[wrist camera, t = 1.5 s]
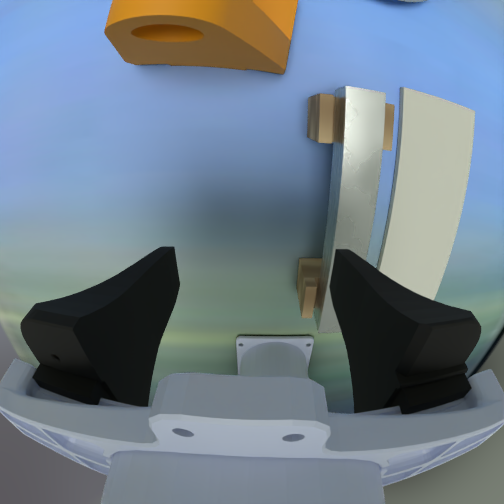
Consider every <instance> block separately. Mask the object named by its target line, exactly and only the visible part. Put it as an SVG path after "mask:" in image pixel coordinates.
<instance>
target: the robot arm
mask: <svg viewBox="0 0 504 504" xmlns="http://www.w3.org/2000/svg"><path fill="white" fill-rule="evenodd" d="M179 287H180V281H179V275H178V269H177V262H176V256H175V249H174V247H160V248H158V249H156V250H155V251H153V252H151V253H150V254H148V255H147V256H145V257H144V258H142V259H141V260H139V261H138V262H136V263H135V264H133V265H132V266H130V267H128V268H127V269H125V270H124V271H122V272H120V273H119V274H117V275H115V276H114V277H112V278H110V279H108V280H106V281H104V282H102V283H100V284H98V285H96V286H93V287H91V288H88V289H86V290H84V291H81V292H78V293H76V294H73V295H70V296H66V297H63V298H59V299H55V300H51V301H46V302H41V303H36V304H35V305H34V306H33V307H32V309H31V310H30V311H29V312H28V314H27V315H26V316H25V317H24V319H23V320H22V322H21V332H22V335H23V337H24V339H25V341H26V343H27V345H28V346H29V348H30V349H31V351H32V352H33V354H34V355H35V357H36V358H37V360H38V361H39V363H40V365H39V367H38V368H37V369H36V368H35V367H34V366H32V365H30V364H28V363H26V362H23V361H21V360H18V359H14V360H13V362H12V364H11V365H10V367H9V369H8V370H7V372H6V373H5V375H4V377H3V378H2V380H1V382H0V412H1V413H2V414H3V415H4V416H5V417H6V418H7V419H8V420H9V421H10V422H11V423H12V424H13V425H14V426H15V427H17V428H18V429H19V430H20V431H21V432H22V433H24V434H25V435H27V436H28V437H30V438H32V439H33V440H35V441H37V442H39V443H41V444H42V445H44V446H46V447H48V448H50V449H52V450H53V451H55V452H57V453H59V454H61V455H63V456H65V457H67V458H69V459H71V460H73V461H75V462H77V463H79V464H82V465H84V466H86V467H88V468H90V469H93V470H95V471H98V472H100V473H102V474H105V475H107V480H106V483H105V487H104V491H103V495H102V499H101V503H100V504H385V498H384V491H383V486H385V485H389V484H392V483H395V482H398V481H400V480H404V479H406V478H409V477H412V476H414V475H417V474H419V473H422V472H424V471H427V470H429V469H432V468H433V467H436V466H438V465H441V464H443V463H445V462H447V461H449V460H451V459H453V458H456V457H458V456H460V455H462V454H464V453H466V452H467V451H470V450H472V449H474V448H476V447H478V446H479V445H480V444H481V443H483V442H484V441H485V440H486V439H488V438H489V437H490V436H491V435H492V434H494V433H495V432H496V431H497V430H498V429H499V428H500V427H502V426H503V425H504V393H503V390H502V388H501V386H500V384H499V383H498V381H497V379H496V377H495V375H494V373H493V372H492V370H491V369H489V370H486V371H483V372H480V373H478V374H475V375H473V376H471V377H470V378H469V379H467V377H466V375H465V373H466V372H467V371H468V368H467V366H466V364H465V361H466V360H467V358H468V357H469V355H470V354H471V352H472V351H473V349H474V348H475V346H476V344H477V342H478V340H479V338H480V334H481V326H480V324H479V322H478V321H477V319H476V318H475V316H474V315H473V314H472V312H471V311H467V310H463V309H459V308H455V307H451V306H448V305H445V304H442V303H439V302H436V301H434V300H431V299H429V298H426V297H424V296H422V295H420V294H417V293H415V292H413V291H411V290H409V289H408V288H406V287H404V286H402V285H400V284H399V283H397V282H395V281H394V280H392V279H391V278H389V277H388V276H386V275H384V274H383V273H382V272H380V271H379V270H377V269H376V268H375V267H373V266H372V265H370V264H369V263H368V262H366V261H365V260H364V259H362V258H361V257H360V256H358V255H357V254H356V253H354V252H353V251H351V250H349V249H336V250H335V257H334V263H333V269H332V274H331V280H330V285H329V288H330V294H331V299H332V304H333V308H334V311H335V314H336V317H337V320H338V323H339V326H340V329H341V332H342V335H343V338H344V341H345V345H346V349H347V353H348V359H349V365H350V372H351V379H352V387H353V398H354V414H344V413H330V412H328V409H327V403H326V397H325V391H324V387H323V386H321V385H320V384H318V383H316V382H315V381H313V380H311V379H309V377H308V366H309V361H310V357H311V352H312V348H313V343H314V339H313V337H312V336H238V337H237V338H236V348H237V365H238V375H221V374H206V373H194V372H189V373H173V374H170V375H168V376H167V377H165V378H163V379H162V380H160V381H159V383H158V387H157V390H156V394H155V397H154V400H153V404H152V407H148V401H149V394H150V387H151V380H152V375H153V370H154V365H155V361H156V356H157V352H158V348H159V345H160V341H161V338H162V336H163V333H164V331H165V328H166V326H167V323H168V321H169V318H170V316H171V313H172V311H173V308H174V305H175V303H176V299H177V295H178V291H179ZM240 343H242V344H240ZM308 343H310V344H308Z"/></svg>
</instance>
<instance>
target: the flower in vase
mask: <svg viewBox="0 0 504 504" xmlns="http://www.w3.org/2000/svg"><path fill="white" fill-rule="evenodd" d="M399 1H406V2H422V1H426V0H399Z"/></svg>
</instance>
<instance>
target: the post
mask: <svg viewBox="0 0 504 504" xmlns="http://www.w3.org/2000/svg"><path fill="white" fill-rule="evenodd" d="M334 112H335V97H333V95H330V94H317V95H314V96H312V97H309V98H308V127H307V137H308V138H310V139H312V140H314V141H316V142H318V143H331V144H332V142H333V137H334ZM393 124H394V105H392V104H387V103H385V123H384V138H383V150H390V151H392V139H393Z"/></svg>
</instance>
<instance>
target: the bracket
mask: <svg viewBox="0 0 504 504" xmlns="http://www.w3.org/2000/svg"><path fill="white" fill-rule="evenodd" d="M297 3H298V0H113V1H112V4H111V8H110V11H109V15H108V19H107V23H106V27H105V31H104V33H105V35H106V36H107V38H108V39H109V40H110V42H111V43H112V44H113V46H114V47H115V49H116V50H117V51H118V53H119V54H120V55H121V57H122V58H123V60H124V61H125V62H128V63H131V64H134V65H146V64H169V65H171V66H204V67H218V68H229V69H239V70H246V69H252V70H259V71H266V72H272V73H278V74H284V72H285V70H286V64H287V59H288V53H289V48H290V42H291V37H292V31H293V25H294V20H295V14H296V9H297Z"/></svg>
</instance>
